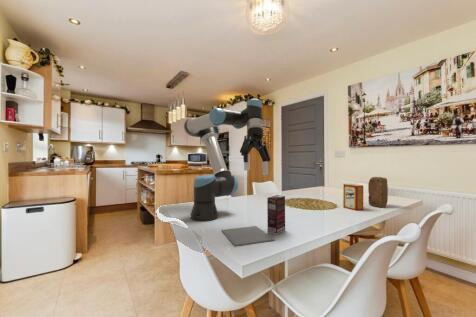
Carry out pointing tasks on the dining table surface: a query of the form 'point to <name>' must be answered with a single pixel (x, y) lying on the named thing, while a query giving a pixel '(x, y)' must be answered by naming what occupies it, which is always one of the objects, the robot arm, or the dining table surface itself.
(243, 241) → the mat
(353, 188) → the baking soda box
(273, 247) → the dining table surface
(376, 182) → the block
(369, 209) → the dining table surface
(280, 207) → the supplement box
